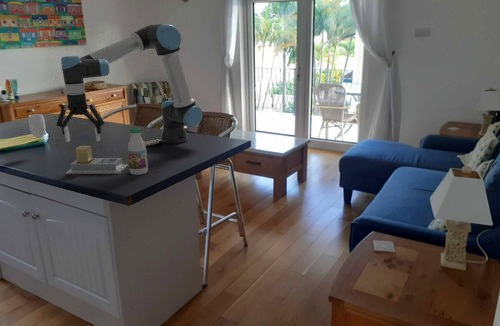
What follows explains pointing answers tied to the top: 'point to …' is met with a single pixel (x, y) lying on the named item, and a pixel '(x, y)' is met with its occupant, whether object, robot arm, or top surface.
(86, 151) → the block
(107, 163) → the butter dish
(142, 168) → the milk bottle
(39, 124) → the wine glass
